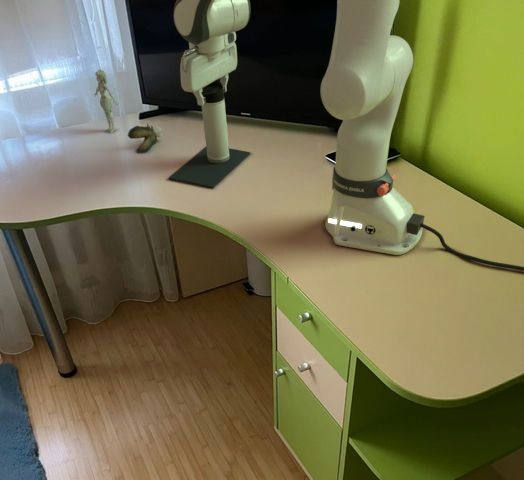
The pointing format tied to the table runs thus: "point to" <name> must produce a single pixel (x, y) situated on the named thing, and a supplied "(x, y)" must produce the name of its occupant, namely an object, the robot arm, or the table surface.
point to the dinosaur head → (145, 136)
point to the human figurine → (105, 98)
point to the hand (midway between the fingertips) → (212, 98)
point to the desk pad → (208, 169)
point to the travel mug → (215, 123)
